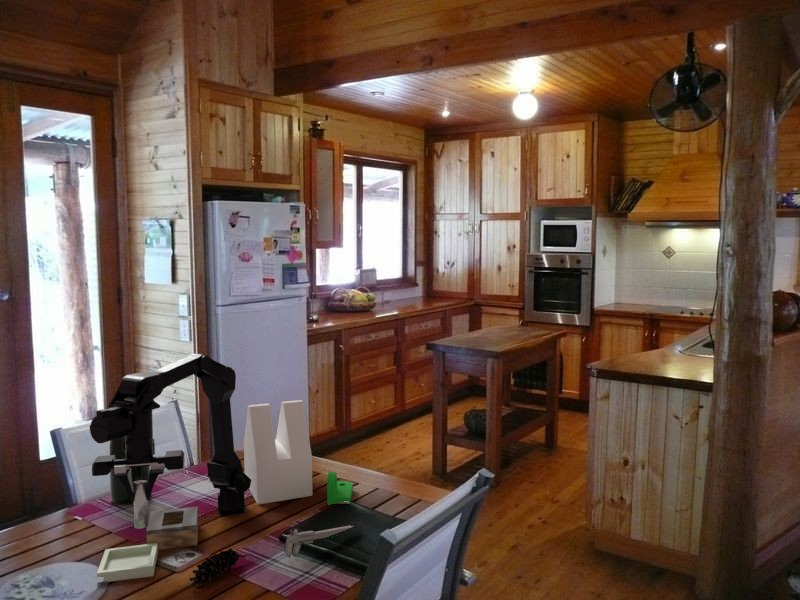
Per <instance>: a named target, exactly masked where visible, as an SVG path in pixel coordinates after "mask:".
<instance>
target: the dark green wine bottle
mask: <svg viewBox="0 0 800 600" xmlns="http://www.w3.org/2000/svg"><path fill="white" fill-rule="evenodd" d="M124 401H125V402H132V403H135V402H134V401H128V400H124ZM122 438H123V437H121V438H118V439H115V440H111V441H109V455H115V460H119V459H126V451H123V450H122ZM150 469H151V466H142V467H131V477H132V484H133V483H134V482H135V481H139V480H146V481H148V480H149V472H150ZM113 475H114V469H112V470H111V472H110V473H109V485H110V486H109V489H110V491H109V493H110V500H111V502H112V503H113V504H116V505H122V506H124V505H125V506H127V505H134V501H133V502H132V501H131V500H130V498H129V495H128V493H127V491H126V489H125V487H124V486H123V484H122V483H121V481H120V480H119V479H118V478H114V477H113Z"/></svg>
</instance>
